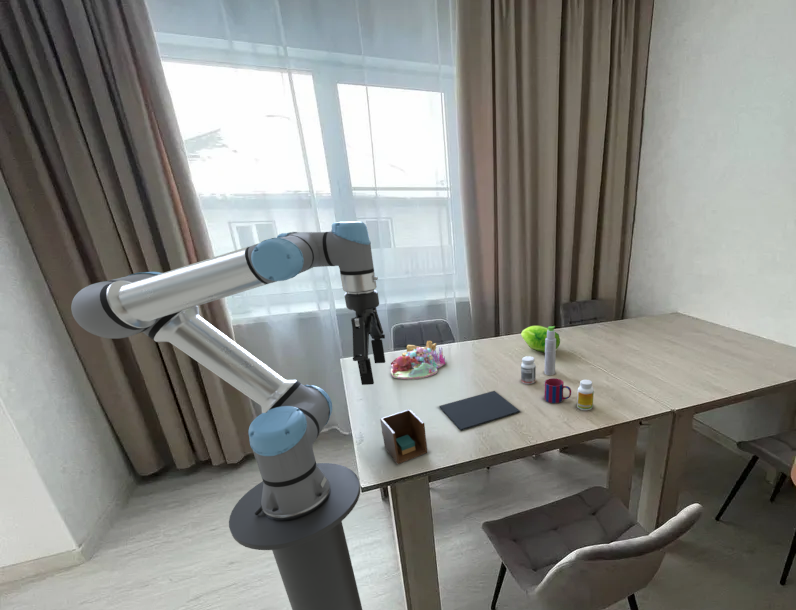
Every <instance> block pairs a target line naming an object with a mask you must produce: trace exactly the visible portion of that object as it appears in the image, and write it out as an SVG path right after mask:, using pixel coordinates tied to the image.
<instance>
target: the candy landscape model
mask: <svg viewBox="0 0 796 610" xmlns="http://www.w3.org/2000/svg"><path fill="white" fill-rule="evenodd" d="M436 349H437V342H435V343H433V341H432V340H427V341H426V344H425V346H419V345H415V344H407V345H406V352H402V353H401V355H399V356H398V357H396V358H395V359H394V360H393V361H392V362H390V366H391V369H390V374H391V377H393V378H395V379H399V380H400V379H402V380H413V379H414V380H419V379H423V378H424V379H425V378H429V377H431V376H433V375H436V374H437V373H438V369H439V368H442V367H443V366H444V365H446V358H445V357H446V356H444V352H443V347H438V351H437V350H436Z"/></svg>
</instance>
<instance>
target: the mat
mask: <svg viewBox="0 0 796 610" xmlns="http://www.w3.org/2000/svg"><path fill="white" fill-rule="evenodd" d="M438 407H439V409H440V410H441V411H442V412H443V413H444V414H445V415H446V416H447V418H448V419H449V420H450V421H451V422H452V423H453V424H454V425H455V426H456V427H457V428H458V429H459V431H461V432H462V431H465V430H468V429H471V428H475V427H477V426H480V425H484V424H486V423H491V422H493V421H497V420H500V419H503V418H506V417H509V416H513V415H515V414H519V413H520V412H521V410H520V409H518V408H517V407H516V406H514V405H513V404H512V403H511V402H509V401H508V400H507V399H506V398H504V397H503V396H502V395H500V394H499V393H498V392H496V391H495V390H493V391H489V392H488V391H487V392H485V393H482V394H481V393H480V394H477V395H473V396H470V397H467V398H463V399H460V400H456V401H453V402H449V403H445V404H442V405H439V406H438Z"/></svg>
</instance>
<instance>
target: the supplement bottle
mask: <svg viewBox="0 0 796 610" xmlns="http://www.w3.org/2000/svg"><path fill="white" fill-rule="evenodd" d="M594 393H595V389H594V387H593V381H592V380H591V379H581V380H580V382H579V386H578V388H577V394H576V395H577V396H576V397H577V398H576V408H577V409H579V410H580V411H590V410H592V409H593V405H594Z"/></svg>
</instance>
